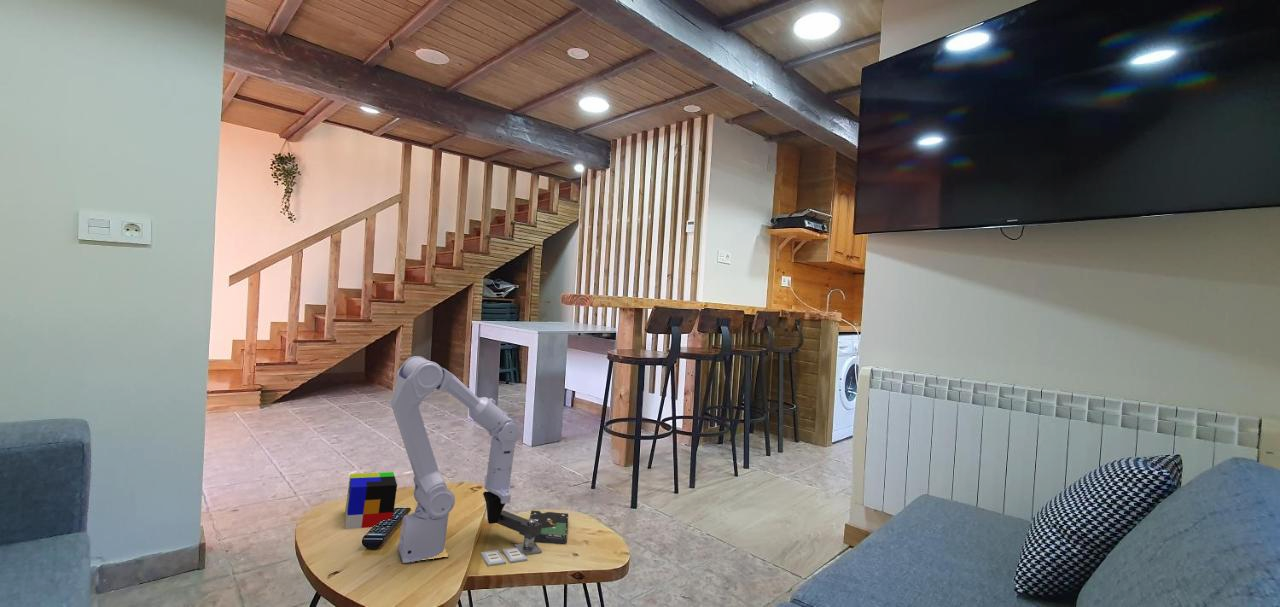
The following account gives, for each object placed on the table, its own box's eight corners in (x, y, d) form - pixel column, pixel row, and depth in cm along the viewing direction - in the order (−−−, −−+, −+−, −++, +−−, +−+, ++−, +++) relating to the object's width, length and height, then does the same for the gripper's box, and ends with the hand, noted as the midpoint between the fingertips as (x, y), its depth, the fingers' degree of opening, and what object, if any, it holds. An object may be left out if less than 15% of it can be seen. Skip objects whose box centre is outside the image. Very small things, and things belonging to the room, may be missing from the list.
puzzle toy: (345, 529, 124) (351, 487, 125) (344, 513, 133) (350, 473, 133) (391, 525, 129) (397, 485, 130) (388, 510, 138) (393, 472, 138)
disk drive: (529, 520, 144) (524, 543, 129) (530, 510, 144) (525, 532, 129) (567, 523, 145) (566, 546, 131) (568, 513, 145) (567, 535, 131)
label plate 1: (488, 566, 115) (488, 563, 115) (480, 554, 120) (480, 551, 120) (505, 563, 117) (506, 561, 117) (497, 551, 122) (498, 549, 122)
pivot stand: (521, 555, 122) (525, 525, 122) (514, 546, 126) (518, 517, 126) (541, 553, 125) (545, 523, 125) (534, 543, 129) (537, 515, 129)
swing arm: (540, 534, 126) (541, 523, 126) (530, 538, 123) (532, 527, 123) (500, 518, 132) (501, 508, 133) (490, 522, 129) (491, 511, 129)
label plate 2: (510, 563, 118) (510, 560, 118) (501, 551, 123) (502, 548, 123) (527, 560, 120) (527, 558, 120) (518, 549, 125) (518, 546, 125)
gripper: (525, 475, 124) (518, 533, 124) (506, 457, 136) (499, 510, 136) (496, 476, 120) (488, 536, 120) (479, 458, 133) (472, 512, 132)
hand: (492, 522), depth 128 cm, fingers closed
